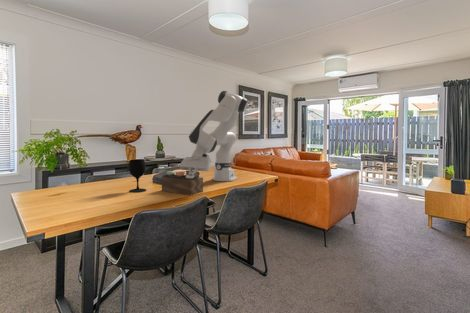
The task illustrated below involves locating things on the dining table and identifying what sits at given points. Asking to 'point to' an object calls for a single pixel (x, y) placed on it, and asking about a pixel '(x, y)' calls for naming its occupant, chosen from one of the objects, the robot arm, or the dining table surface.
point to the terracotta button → (179, 173)
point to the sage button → (170, 173)
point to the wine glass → (137, 172)
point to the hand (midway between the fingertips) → (190, 174)
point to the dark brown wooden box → (182, 184)
